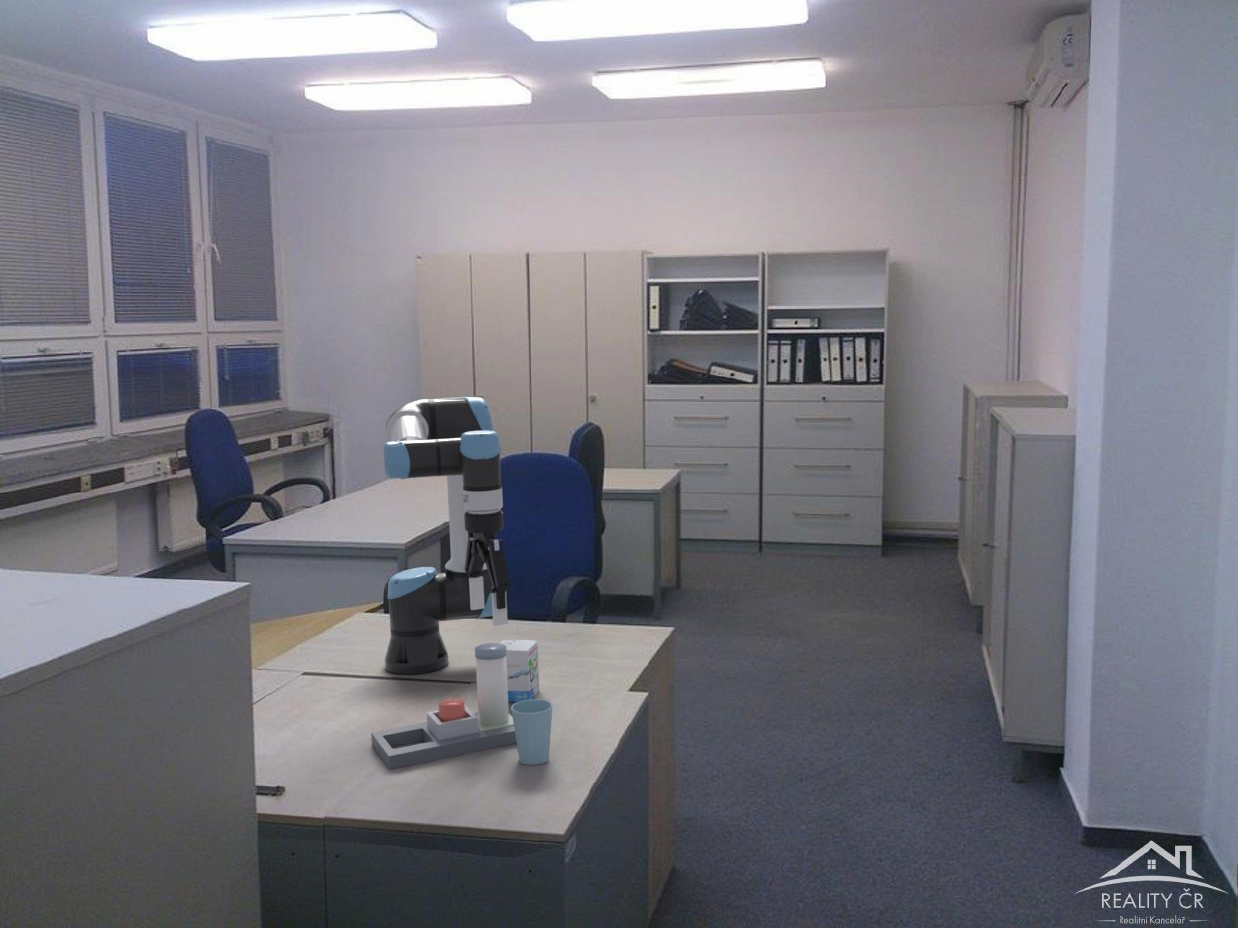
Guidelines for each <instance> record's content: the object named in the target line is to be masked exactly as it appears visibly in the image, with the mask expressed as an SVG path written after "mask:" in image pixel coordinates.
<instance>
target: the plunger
mask: <svg viewBox="0 0 1238 928" xmlns="http://www.w3.org/2000/svg"><path fill="white" fill-rule="evenodd" d="M438 710H439V719H440V721H441V722H447V721H452V720H457V719H463V718H465V700H464V699H462V698H461V699H459V698H447V699H443V700H441V701H440V702H439V703H438Z"/></svg>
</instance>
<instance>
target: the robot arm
mask: <svg viewBox="0 0 1238 928" xmlns="http://www.w3.org/2000/svg"><path fill="white" fill-rule="evenodd" d="M385 435H386V438H387V442H385V443H384V444H383V463H384V474H385V477H386V478H387V479H391V480H392V479H393V480H395V479H396V480H398V479H400V480H405V479H417V478H428V477H432V478H433V477H446V483H447V502H448V503H447V504H448V505H447V506H448V523H449V543H450V546H449V547H450V559H449V560H448V561H447V563H445V564H444V569H445V570H444V572H438V571H437V570H436V569H437V568H435V567H433V566H420V567H413V568H410V569H406V570H403V571H400V572H398V573H396V574H394V575H391V577H390V578H389V581H388V583H387V584H388V585H387V586H388V587H387V589H388V590H387V593H388V594H387V599H388V606H389V608H388V610H389V625H390V626H389V627H390V637H389V642H388V646H387V650H386V653H385V657H384V667H385V670H386V671H388V672H390V673H392V674H397V675H417V674H418V675H420V674H425V673H431V672H435V671H438V670H441V669H442V668H445V667H446V666H448V664H449V654H448V650H447V648H446V645H445V643H444V640H443V638H442V635H441V632H440V622H445V621H457V620H458V621H460V620H468V619H470V620H472V619H476V620H477V619H478V620H479V619H480V618H486V617H488V618H489V617H492V625H493V626H494V627H497V626H501V625H502V626H503V625H508V603H507V591H511V582H510V577H509V571H508V567H507V563H506V562H507V561H506V558H505V554H504V545H503V539H501V538H500V539H498V538H497V535H496V533H497V532H499V531H502V530H503V529H504V512H503V511H502V510H501V509H502V508H503V507H504V504H503V503H504V502H503V501H504V499H503V487H502V474H501V473H502V471H501V470H502V469H501V451H502V450H501V449H502V447H501V443H500V435H499V433H498V432H496V431H495V430H494V427H493V421H492V417H491V412H490V409H489V405H488V402H487V401H486V399H484V398H483V397H479V396H459V397H456V396H455V397H444V398H442V397H441V398H430V399H429V398H423V399H418V400H417V399H416V400H413V401H410V402H408V403H405V404H403V405H402V406H400V407H399V408H397V409H396V410H394V411H393V412H392V413H391V414H390V415H389V417H388V419H387V421H386V423H385Z"/></svg>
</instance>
